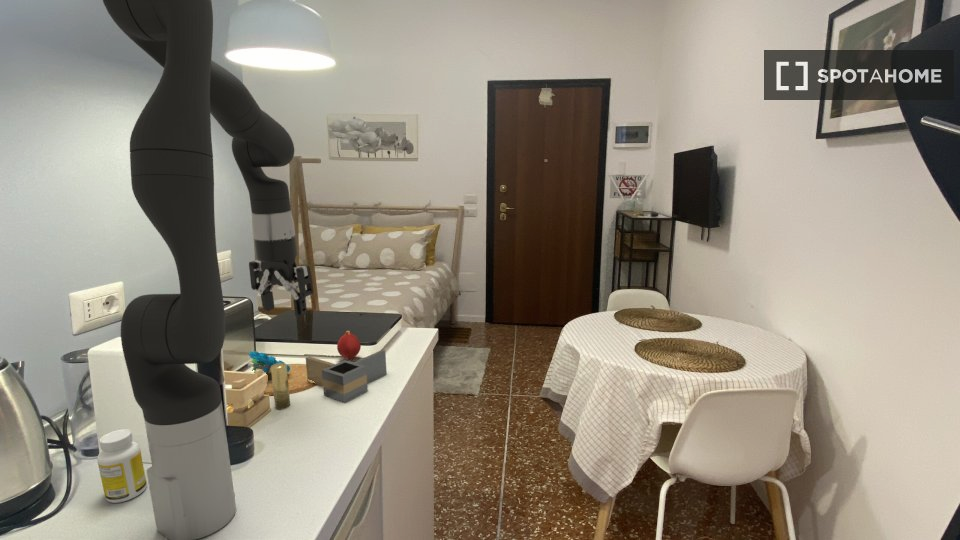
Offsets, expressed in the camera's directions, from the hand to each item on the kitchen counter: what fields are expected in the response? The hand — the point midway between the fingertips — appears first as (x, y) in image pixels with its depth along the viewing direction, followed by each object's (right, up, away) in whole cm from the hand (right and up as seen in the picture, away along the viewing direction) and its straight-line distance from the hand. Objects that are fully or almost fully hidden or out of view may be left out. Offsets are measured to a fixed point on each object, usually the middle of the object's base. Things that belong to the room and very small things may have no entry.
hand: (284, 312), depth 103 cm
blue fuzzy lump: (-11, -17, +19) cm, 27 cm away
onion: (+6, -15, +28) cm, 32 cm away
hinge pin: (-2, -20, +3) cm, 20 cm away
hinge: (+9, -17, +15) cm, 24 cm away
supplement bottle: (-15, -26, -24) cm, 39 cm away
